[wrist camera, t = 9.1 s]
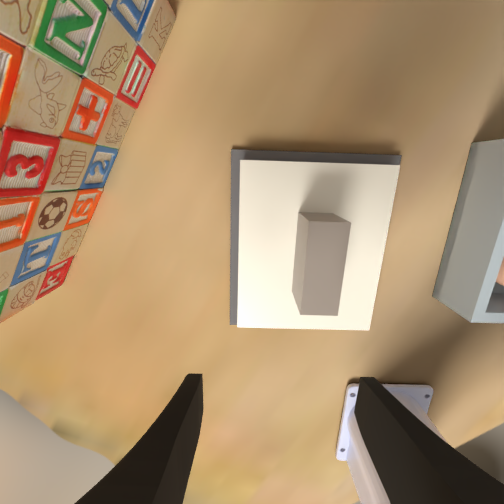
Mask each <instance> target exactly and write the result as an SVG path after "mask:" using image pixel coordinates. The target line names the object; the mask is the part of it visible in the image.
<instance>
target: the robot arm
mask: <svg viewBox="0 0 504 504" xmlns="http://www.w3.org/2000/svg"><path fill="white" fill-rule="evenodd" d="M351 393H352V394H351ZM432 395H433V389H432V387H431V386H429V385H405V384H381V383H379V382H378V381H377V380H376V379H375V378H374V377H360V383H359V384H354V383H353V384H349V385H348V386H347V390H346V396H345V402H344V408H343V413H342V419H341V425H340V431H339V437H338V442H337V448H336V458H337V459H338V460H341V461H347V463H348V466H349V469H350V472H351V475H352V478H353V481H354V484H355V487H356V490H357V493H358V496H359V499H360V502H361V504H504V484H502V483H501V482H499V481H498V480H496V479H495V478H493V477H492V476H490V475H489V474H487V473H486V472H485V471H483V470H482V469H480V468H479V467H478V466H476V465H475V464H473V463H472V462H471V461H470V460H468V459H467V458H466V457H464V456H463V455H462V454H460V453H459V452H458V451H456V450H455V449H454V448H453V447H451V446H450V445H449V444H448V443H447V442H446V440H445V439H444V438H443V436H442V435H441V434H440V432H439V431H438V429H437V428H436V427H435V425H434V424H433V423H432V421H431V420H430V418H429V417H428V416H427V412H428V408H429V405H430V402H431V398H432ZM202 415H203V380H202V374H188V375H187V376H186V377H185V379H184V381H183V382H182V384H181V385H180V387H179V389H178V390H177V392H176V393H175V395H174V396H173V398H172V399H171V400H170V402H169V403H168V405H167V406H166V407H165V409H164V410H163V411H162V413H161V414H160V415H159V417H158V418H157V419H156V421H155V422H154V423H153V424H152V425H151V427H150V428H149V429H148V430H147V432H146V433H145V434H144V435H143V436H142V438H141V439H140V440H139V441H138V442H137V443H136V445H135V446H134V447H133V448H132V449H131V450H130V451H129V452H128V453H127V454H126V455H125V456H124V458H123V459H122V460H121V461H120V462H119V463H118V464H117V465H116V466H115V467H114V468H113V469H112V470H111V471H110V472H109V473H108V474H107V475H106V476H105V477H104V478H103V479H101V480H100V481H99V482H98V483H97V484H96V485H95V486H94V487H93V488H92V489H91V490H89V491H88V492H87V493H86V494H85V495H84V496H83V497H82V498H80V499H79V500H78V501H77V502H76V503H75V504H183V499H184V495H185V491H186V487H187V483H188V479H189V475H190V471H191V467H192V463H193V459H194V455H195V451H196V447H197V443H198V439H199V435H200V428H201V422H202Z"/></svg>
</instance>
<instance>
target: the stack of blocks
mask: <svg viewBox="0 0 504 504" xmlns="http://www.w3.org/2000/svg"><path fill="white" fill-rule="evenodd" d="M175 20H176V16H175V14H174V11H173V9H172V7H171V5H170V3H169V1H168V0H0V323H1V322H3V321H4V320H6V319H8V318H10V317H11V316H13V315H14V314H16V313H18V312H19V311H21V310H23V309H24V308H26V307H28V306H29V305H31V304H33V303H34V301H35V300H38V299H39V298H41V297H43V296H45V295H46V294H48V293H50V292H51V291H53V290H55V289H56V288H58V287H59V286H61V285H62V284H63V282H64V279H65V277H66V274H67V272H68V269H69V267H70V264H71V262H72V259H73V257H74V255H75V254H76V253H77V251H78V248H79V246H80V244H81V241H82V239H83V236H84V234H85V232H86V229H87V227H88V223H89V221H90V220H91V218H92V215H93V213H94V211H95V208H96V206H97V204H98V202H99V199H100V197H101V194H102V192H103V186H104V184H105V182H106V180H107V177H108V175H109V173H110V170H111V168H112V165H113V163H114V161H115V158H116V156H117V154H118V149H119V147H120V146H121V143H122V141H123V139H124V136H125V134H126V131H127V129H128V127H129V124H130V122H131V120H132V117H133V115H134V112H135V110H136V109H137V108H138V106H139V103H140V101H141V99H142V97H143V94H144V92H145V89H146V87H147V85H148V83H149V80H150V78H151V75H152V73H153V71H154V68H155V66H156V63H157V62H158V60H159V58H160V55H161V53H162V51H163V48H164V46H165V44H166V41H167V39H168V37H169V34H170V32H171V30H172V27H173V25H174V23H175Z"/></svg>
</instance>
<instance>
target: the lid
mask: <svg viewBox="0 0 504 504" xmlns="http://www.w3.org/2000/svg"><path fill="white" fill-rule="evenodd" d="M399 170H400V165H379V164H349V163H320V162H290V161H261V160H240V195H239V253H238V311H237V327H246V328H289V329H332V330H369V329H370V323H371V318H372V313H373V308H374V302H375V297H376V292H377V286H378V281H379V276H380V270H381V265H382V260H383V255H384V249H385V244H386V239H387V233H388V228H389V223H390V218H391V212H392V207H393V202H394V196H395V191H396V186H397V180H398V175H399Z"/></svg>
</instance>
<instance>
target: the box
mask: <svg viewBox="0 0 504 504" xmlns="http://www.w3.org/2000/svg"><path fill="white" fill-rule="evenodd" d="M432 297H434V298H435V299H437V300H438V301H440V302H441V303H443V304H444V305H446V306H447V307H449V308H450V309H451V310H453V311H454V312H456V313H457V314H459V315H460V316H462V317H463V318H465V319H466V320H468V321H469V322H471V323H504V139H498V140H490V141H482V142H475V143H472V145H471V149H470V152H469V156H468V160H467V164H466V168H465V172H464V176H463V179H462V183H461V187H460V191H459V195H458V199H457V203H456V206H455V210H454V214H453V218H452V222H451V226H450V230H449V233H448V237H447V241H446V245H445V249H444V253H443V257H442V260H441V264H440V268H439V272H438V276H437V280H436V284H435V287H434V291H433V295H432Z"/></svg>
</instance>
